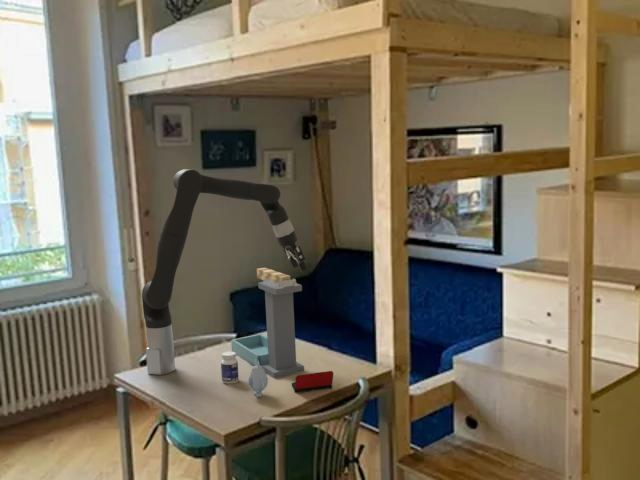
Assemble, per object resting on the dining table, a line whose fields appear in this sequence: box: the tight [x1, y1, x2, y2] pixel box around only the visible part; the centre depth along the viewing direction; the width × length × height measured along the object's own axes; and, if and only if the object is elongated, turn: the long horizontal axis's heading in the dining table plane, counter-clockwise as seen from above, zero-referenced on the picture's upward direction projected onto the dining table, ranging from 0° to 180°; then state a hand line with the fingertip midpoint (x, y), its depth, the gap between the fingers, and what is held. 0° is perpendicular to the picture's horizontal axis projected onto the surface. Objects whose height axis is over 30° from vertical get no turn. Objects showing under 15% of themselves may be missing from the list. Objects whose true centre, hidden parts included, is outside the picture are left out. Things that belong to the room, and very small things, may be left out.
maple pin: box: [256, 267, 291, 283], centre depth 227 cm, size 20×3×3 cm, turn 30°
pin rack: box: [257, 278, 305, 379], centre depth 225 cm, size 14×12×34 cm
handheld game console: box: [291, 370, 334, 394], centre depth 210 cm, size 12×11×7 cm
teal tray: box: [230, 333, 269, 367], centre depth 245 cm, size 25×13×5 cm, turn 30°
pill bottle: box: [220, 351, 239, 385], centre depth 220 cm, size 6×6×10 cm
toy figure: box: [247, 359, 269, 398], centre depth 206 cm, size 11×6×12 cm, turn 26°
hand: (300, 268), depth 253 cm, fingers open, 8 cm apart
